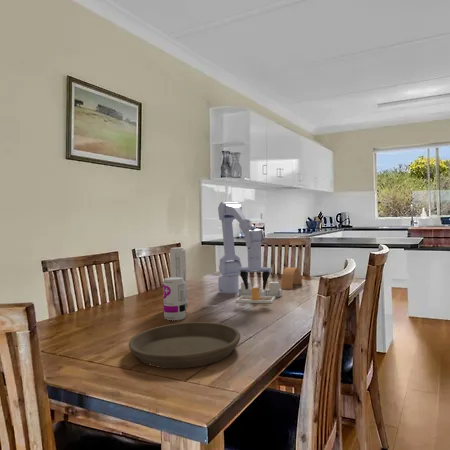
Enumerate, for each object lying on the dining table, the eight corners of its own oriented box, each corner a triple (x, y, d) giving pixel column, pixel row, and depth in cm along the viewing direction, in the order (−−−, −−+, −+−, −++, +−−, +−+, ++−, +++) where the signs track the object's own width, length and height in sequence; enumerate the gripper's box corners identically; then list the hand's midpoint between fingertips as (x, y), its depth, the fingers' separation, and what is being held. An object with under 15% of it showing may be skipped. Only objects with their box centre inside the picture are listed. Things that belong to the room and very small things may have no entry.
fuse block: (237, 298, 182) (237, 290, 182) (241, 295, 189) (241, 287, 189) (280, 299, 176) (279, 291, 176) (282, 296, 183) (282, 288, 183)
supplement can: (168, 322, 144) (166, 280, 144) (161, 317, 152) (159, 278, 151) (189, 319, 148) (187, 278, 148) (181, 314, 155) (179, 275, 155)
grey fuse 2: (269, 296, 180) (268, 282, 180) (270, 294, 182) (270, 281, 182) (278, 296, 179) (277, 282, 179) (279, 295, 181) (278, 281, 181)
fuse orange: (254, 300, 174) (253, 285, 174) (259, 300, 173) (259, 285, 173) (252, 302, 170) (251, 287, 170) (257, 302, 170) (257, 287, 169)
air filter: (190, 305, 170) (187, 246, 170) (182, 309, 165) (179, 248, 164) (177, 304, 173) (174, 246, 173) (168, 308, 167) (166, 248, 167)
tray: (236, 304, 170) (235, 299, 170) (241, 299, 179) (241, 295, 179) (271, 305, 165) (271, 300, 165) (275, 300, 174) (275, 296, 174)
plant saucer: (105, 366, 104) (104, 348, 104) (164, 332, 133) (163, 318, 133) (216, 379, 93) (215, 359, 93) (254, 339, 122) (254, 324, 122)
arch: (302, 284, 213) (301, 265, 213) (292, 291, 195) (291, 270, 195) (291, 283, 215) (290, 265, 215) (280, 290, 197) (280, 270, 197)
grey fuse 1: (241, 295, 184) (240, 282, 184) (242, 294, 186) (242, 281, 186) (249, 295, 183) (249, 282, 183) (251, 294, 185) (250, 281, 185)
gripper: (235, 258, 170) (236, 290, 170) (269, 258, 166) (270, 291, 166) (239, 256, 177) (240, 287, 177) (272, 256, 172) (273, 288, 173)
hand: (255, 289), depth 172 cm, fingers open, 7 cm apart
